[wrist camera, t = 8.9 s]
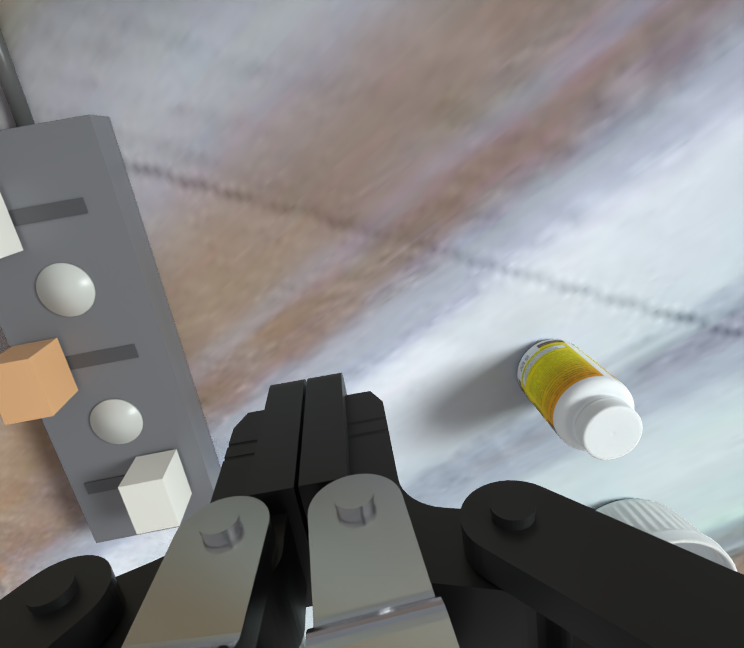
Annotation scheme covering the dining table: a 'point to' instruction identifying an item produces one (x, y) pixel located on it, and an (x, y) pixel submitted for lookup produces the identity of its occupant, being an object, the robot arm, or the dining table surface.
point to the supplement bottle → (580, 399)
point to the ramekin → (667, 527)
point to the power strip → (95, 310)
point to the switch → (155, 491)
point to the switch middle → (34, 381)
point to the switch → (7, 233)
